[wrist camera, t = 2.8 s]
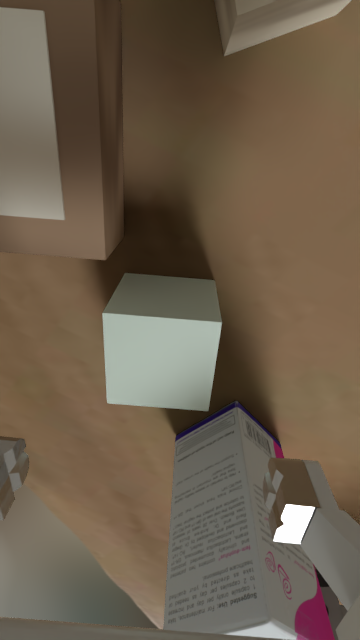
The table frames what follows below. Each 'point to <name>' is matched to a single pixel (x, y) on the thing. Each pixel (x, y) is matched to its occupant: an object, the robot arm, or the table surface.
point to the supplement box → (234, 540)
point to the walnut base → (61, 128)
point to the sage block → (161, 341)
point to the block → (268, 19)
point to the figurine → (331, 604)
